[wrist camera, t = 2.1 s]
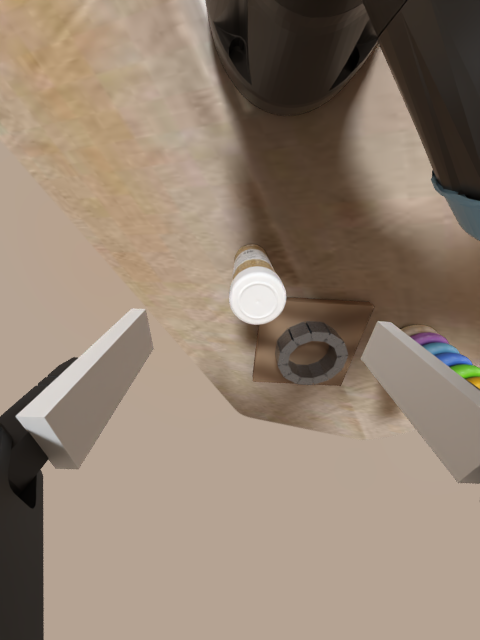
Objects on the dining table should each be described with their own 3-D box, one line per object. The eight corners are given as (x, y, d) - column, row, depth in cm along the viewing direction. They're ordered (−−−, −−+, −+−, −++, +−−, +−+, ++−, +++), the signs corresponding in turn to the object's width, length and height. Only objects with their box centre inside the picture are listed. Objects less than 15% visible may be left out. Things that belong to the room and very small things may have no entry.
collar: (280, 319, 30) (284, 330, 27) (347, 323, 30) (357, 334, 28) (271, 369, 35) (274, 383, 32) (329, 372, 35) (335, 385, 33)
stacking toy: (381, 365, 36) (494, 496, 20) (381, 330, 33) (520, 454, 16) (429, 355, 35) (594, 485, 19) (435, 316, 31) (647, 437, 15)
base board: (261, 295, 30) (262, 300, 28) (368, 301, 30) (374, 306, 29) (252, 375, 38) (253, 381, 36) (337, 379, 38) (340, 385, 37)
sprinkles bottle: (238, 280, 29) (235, 331, 17) (230, 247, 26) (221, 280, 15) (270, 273, 28) (290, 321, 16) (265, 239, 26) (284, 266, 14)
